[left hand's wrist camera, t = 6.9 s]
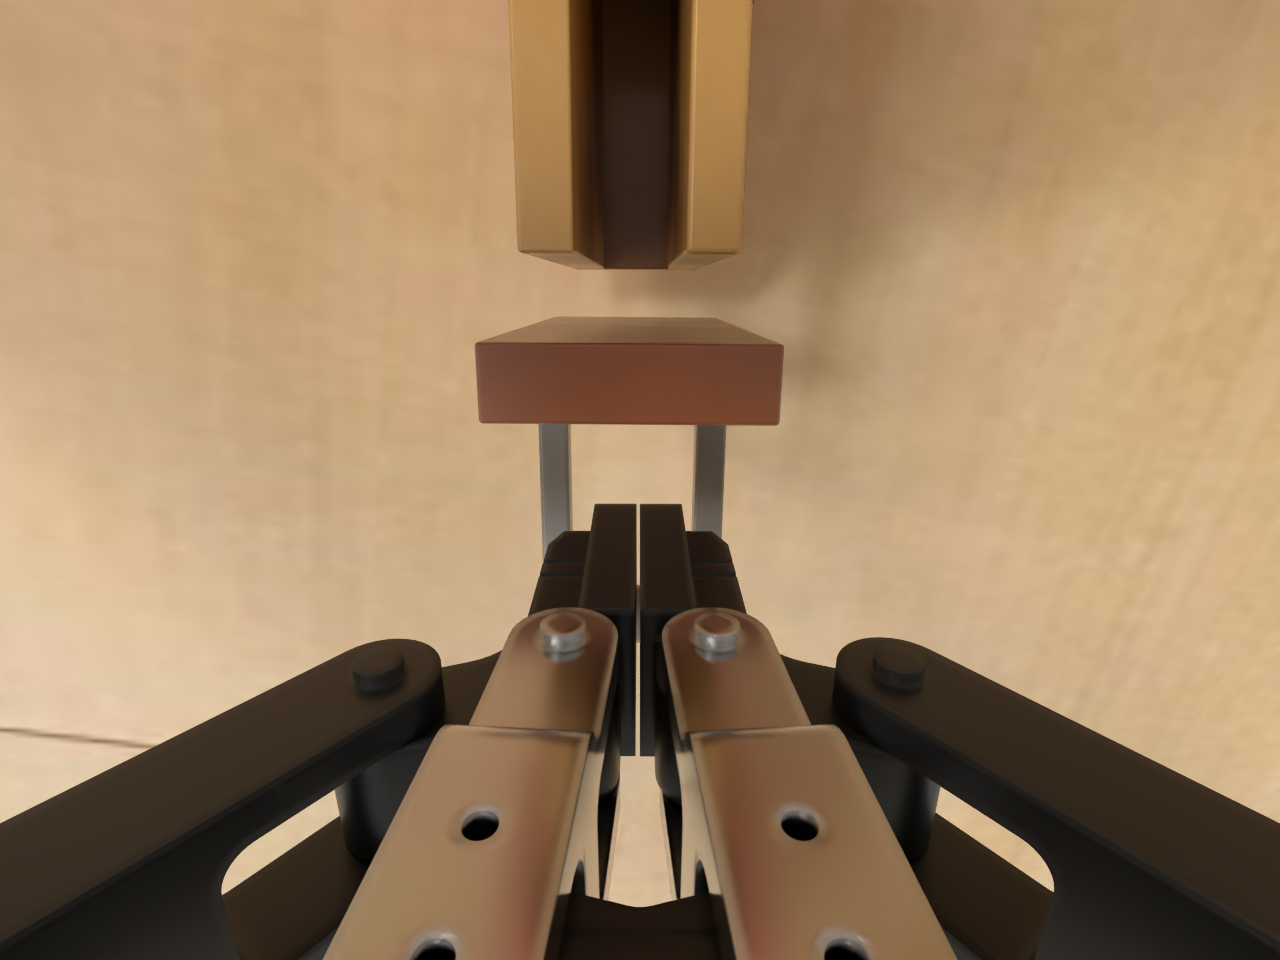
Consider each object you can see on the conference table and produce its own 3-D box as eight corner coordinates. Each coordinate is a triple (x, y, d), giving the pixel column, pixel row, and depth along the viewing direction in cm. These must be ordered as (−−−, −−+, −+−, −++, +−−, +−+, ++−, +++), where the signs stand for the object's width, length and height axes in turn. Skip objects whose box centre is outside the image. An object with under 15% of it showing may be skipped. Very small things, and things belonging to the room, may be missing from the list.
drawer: (708, 548, 21) (759, 750, 12) (560, 547, 21) (496, 748, 12) (742, -404, 15) (899, -1486, 6) (536, -406, 15) (371, -1487, 6)
